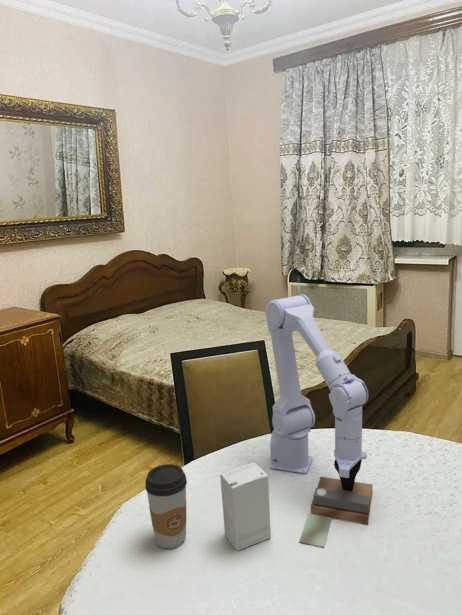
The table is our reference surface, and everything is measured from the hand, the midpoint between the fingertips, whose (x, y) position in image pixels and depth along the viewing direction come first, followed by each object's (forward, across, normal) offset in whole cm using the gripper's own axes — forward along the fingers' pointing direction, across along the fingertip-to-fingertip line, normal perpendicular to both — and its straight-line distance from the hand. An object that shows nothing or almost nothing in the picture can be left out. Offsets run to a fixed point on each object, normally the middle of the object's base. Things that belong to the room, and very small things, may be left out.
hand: (347, 489), depth 110 cm
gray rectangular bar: (+1, -5, +1) cm, 5 cm away
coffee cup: (+3, -23, +33) cm, 40 cm away
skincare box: (+3, -18, +18) cm, 26 cm away
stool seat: (+3, -6, +1) cm, 7 cm away
